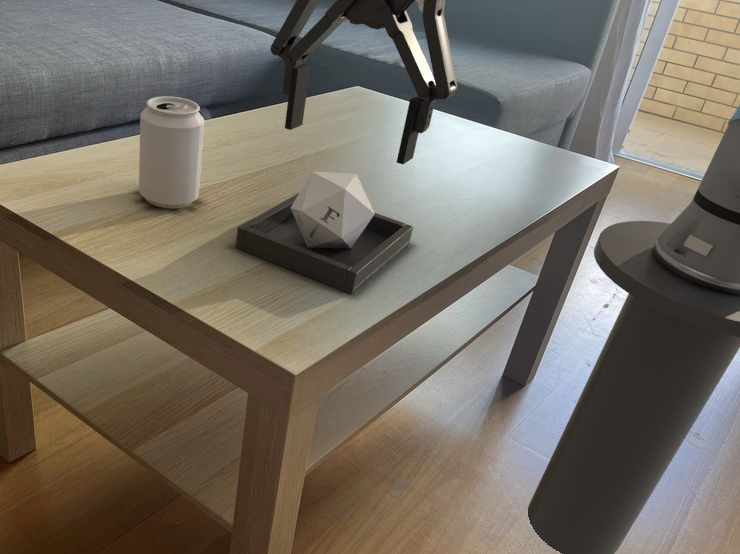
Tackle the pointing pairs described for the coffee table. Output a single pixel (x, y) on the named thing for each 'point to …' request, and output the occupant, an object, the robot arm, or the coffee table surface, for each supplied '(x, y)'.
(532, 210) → the coffee table surface
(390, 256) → the dark grey shallow tray
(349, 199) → the die
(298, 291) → the coffee table surface
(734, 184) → the robot arm
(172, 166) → the can
